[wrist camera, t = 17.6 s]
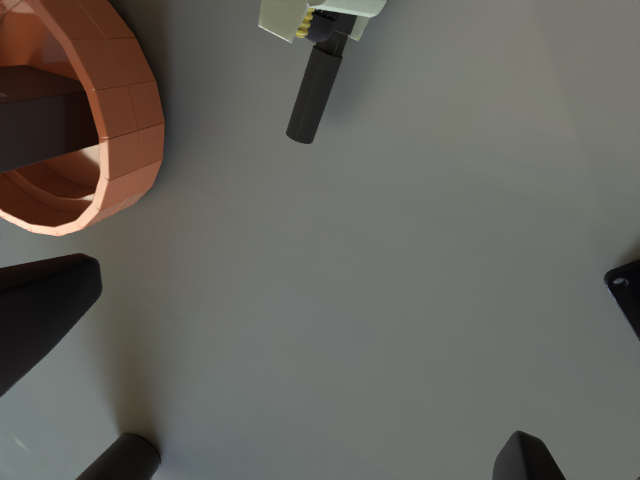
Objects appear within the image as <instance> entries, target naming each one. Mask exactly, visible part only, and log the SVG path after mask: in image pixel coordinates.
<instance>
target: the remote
mask: <svg viewBox="0 0 640 480" xmlns="http://www.w3.org/2000/svg"><path fill="white" fill-rule="evenodd" d="M98 144H99V136H98V132H97V129H96V125H95V122H94V118H93V115H92V111H91V108H90V104H89V101H88V97H87V93H86V91H85V89H84V87H83V85H82V83H81V82H80V81H79V80H75V79H72V78H69V77H65V76H62V75H58V74H55V73H52V72H48V71H45V70H42V69H38V68H35V67H32V66H28V65H14V66H1V67H0V173H4V172H7V171H10V170H14V169H17V168H20V167H24V166H27V165H31V164H34V163H37V162H41V161H44V160H47V159H51V158H54V157H57V156H61V155H64V154H68V153H71V152H74V151H78V150H81V149H84V148H88V147H91V146H95V145H98Z"/></svg>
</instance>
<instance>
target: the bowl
mask: <svg viewBox="0 0 640 480" xmlns="http://www.w3.org/2000/svg"><path fill="white" fill-rule="evenodd" d="M14 65H28V66H32V67H35V68H38V69H42V70H45V71H48V72H52V73H55V74H58V75H62V76H65V77H69V78H72V79H75V80H79V81H80V82H81V83H82V85H83V87H84V89H85V91H86V93H87V97H88V101H89V104H90V108H91V111H92V115H93V118H94V122H95V125H96V129H97V132H98V136H99V144H98V145H95V146H91V147H88V148H84V149H81V150H78V151H74V152H71V153H68V154H64V155H61V156H57V157H54V158H51V159H47V160H44V161H41V162H37V163H34V164H31V165H27V166H24V167H20V168H17V169H14V170H10V171H7V172H4V173H0V216H1V217H2V218H4V219H5V220H7V221H9V222H11V223H13V224H16V225H18V226H20V227H22V228H24V229H26V230H28V231H30V232H33V233H40V234H47V235H54V236H62V235H66V234H69V233H73V232H76V231H79V230H83V229H85V228H87V227H89V226H91V225H93V224H95V223H97V222H99V221H101V220H103V219H105V218H107V217H109V216H111V215H113V214H115V213H117V212H119V211H121V210H123V209H125V208H127V207H129V206H131V205H133V204H135V203H136V202H137V201H138V200H139V199H140V198H141V197H142V196H143V195H144V194H145V193H146V192H147V191H148V190H149V189H150V188H151V187H152V186H153V183H154V181H155V178H156V176H157V173H158V170H159V168H160V165H161V163H162V160H163V151H164V131H165V123H164V122H165V120H164V115H163V111H162V106H161V101H160V96H159V92H158V87H157V82H156V81H155V77H154V75H153V73H152V71H151V69H150V67H149V64H148V62H147V60H146V58H145V56H144V53H143V51H142V49H141V47H140V45H139V43H138V40H137V39H136V38H135V35H134V34H133V33H132V31H131V30H130V29H129V27H128V26H127V25H126V23H125V22H124V21H123V19H122V18H121V17H120V16H119V14H118V13H117V12H116V10H115V9H114V8H113V6H112V5H111V4H110V2H109V1H108V0H0V67H1V66H14Z"/></svg>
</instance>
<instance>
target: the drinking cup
mask: <svg viewBox="0 0 640 480" xmlns="http://www.w3.org/2000/svg"><path fill="white" fill-rule="evenodd" d="M159 466H160V458H159V456H158V454H157V452H156V451H155V450H154V449H153V447H152V446H151V445H149V444H148V443H147V442H146V441H144V440H143V439H141V438H140V437H138V436H135V435H132V434H123V435H121V436H120V437H119V438H118V439H117V440H116V441H115V442H114V443H113V444H112V445H111V446H110V447H109V448H108V449H107V450H106V451H105V452H104V453H103V454H102V455H100V456H99V457H98V458H97V459H96V460H95V461H94V462H93V463H92V464H91V465H90V466H89V467H88V468H87V469H86V470H85V471H84V472H83V473H82V474H81V475H80V476H79V477H78V478H77V479H76V480H151V479H152V478H153V476H154V474H155V473H156V471H157V470H158V468H159Z"/></svg>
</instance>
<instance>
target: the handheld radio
mask: <svg viewBox="0 0 640 480" xmlns="http://www.w3.org/2000/svg"><path fill="white" fill-rule="evenodd" d="M386 2H387V0H261V7H260V14H259V22H258V26H260V27H261V28H263V29H265V30H267V31H269V32H271V33H273V34H275V35H277V36H278V37H280V38H282V39H284V40H287V41H289V42H291V43H292V41H293V39H294V37H295V36H297V37H300V38H304V37H306V38H307V39H309V40H311V41H313V42H316V45H315V46H313V49H312V52H311V55H310V58H309V61H308V65H307V68H306V71H305V74H304V77H303V80H302V84H301V87H300V90H299V93H298V96H297V99H296V102H295V106H294V109H293V112H292V115H291V118H290V121H289V125H288V128H287V131H286V134H287V136H288V137H290V138H291V139H293V140H295V141H297V142H300V143H304V144H311V143H312V142H313V139H314V136H315V134H316V131H317V128H318V125H319V122H320V120H321V117H322V114H323V111H324V108H325V106H326V103H327V100H328V97H329V94H330V92H331V89H332V86H333V83H334V80H335V78H336V75H337V72H338V69H339V66H340V64H341V61H342V56H341V55H342V52H343V49H344V46H345V44H346V41H347V38H348V37H350V38H352V39H354V40H357V41H359V39H360V37H361V35H362V33H363V31H364V29H365V27H366V25H367V23H368V21H369V19H370V17H374V16H376V15H378V14H379V13H380V12H381V10H382V9H383V7H384V5H385V4H386ZM317 9H318V11H316V10H317ZM322 10H323V11H322ZM321 11H322V13H321Z"/></svg>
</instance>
